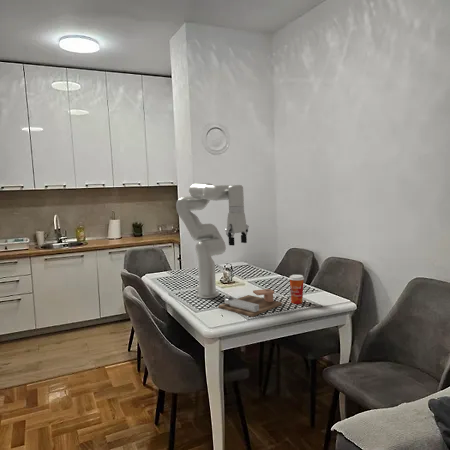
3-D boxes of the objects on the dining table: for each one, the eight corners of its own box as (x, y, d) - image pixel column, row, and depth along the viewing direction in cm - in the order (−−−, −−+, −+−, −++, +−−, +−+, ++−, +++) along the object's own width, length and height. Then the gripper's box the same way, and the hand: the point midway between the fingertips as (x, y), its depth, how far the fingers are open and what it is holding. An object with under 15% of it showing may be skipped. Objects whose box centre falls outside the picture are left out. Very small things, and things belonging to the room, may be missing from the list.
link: (222, 304, 203) (222, 297, 202) (229, 302, 207) (229, 295, 206) (253, 312, 189) (253, 305, 189) (259, 310, 193) (259, 302, 193)
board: (218, 307, 203) (218, 305, 203) (248, 297, 220) (248, 294, 220) (252, 317, 188) (252, 314, 188) (281, 304, 206) (281, 302, 205)
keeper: (257, 305, 204) (257, 293, 204) (253, 302, 210) (253, 290, 209) (274, 303, 207) (274, 291, 206) (269, 300, 213) (269, 288, 212)
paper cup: (286, 303, 208) (286, 276, 206) (293, 299, 214) (292, 273, 213) (301, 305, 203) (300, 278, 202) (306, 301, 210) (306, 275, 208)
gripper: (241, 208, 208) (242, 241, 209) (219, 211, 195) (220, 245, 197) (253, 208, 203) (254, 242, 205) (231, 211, 190) (232, 246, 192)
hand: (237, 244), depth 201 cm, fingers open, 9 cm apart
